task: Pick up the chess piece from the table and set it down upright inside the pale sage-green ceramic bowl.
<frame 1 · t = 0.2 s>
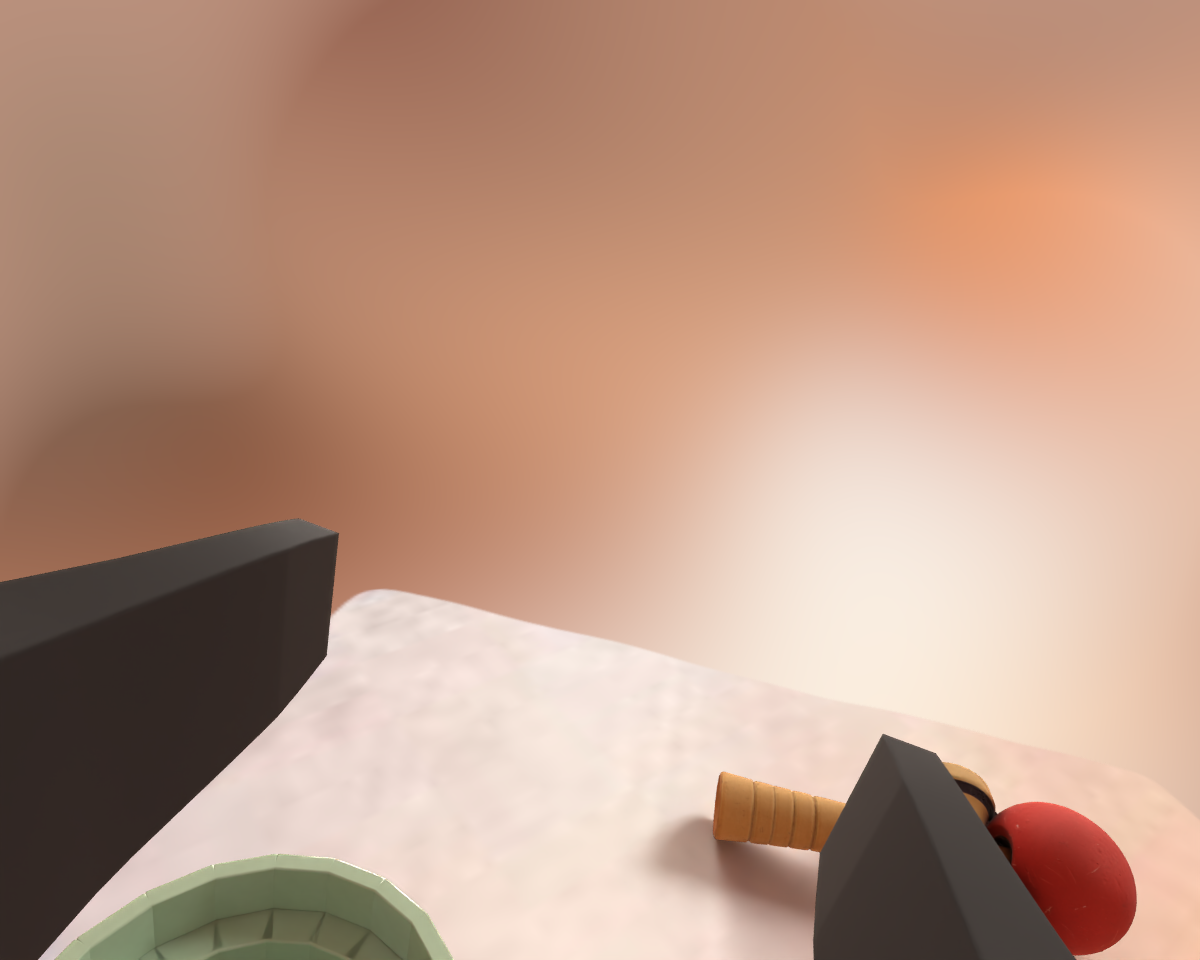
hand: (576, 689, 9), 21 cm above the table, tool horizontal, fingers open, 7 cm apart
kendama: (892, 887, 34), on the table
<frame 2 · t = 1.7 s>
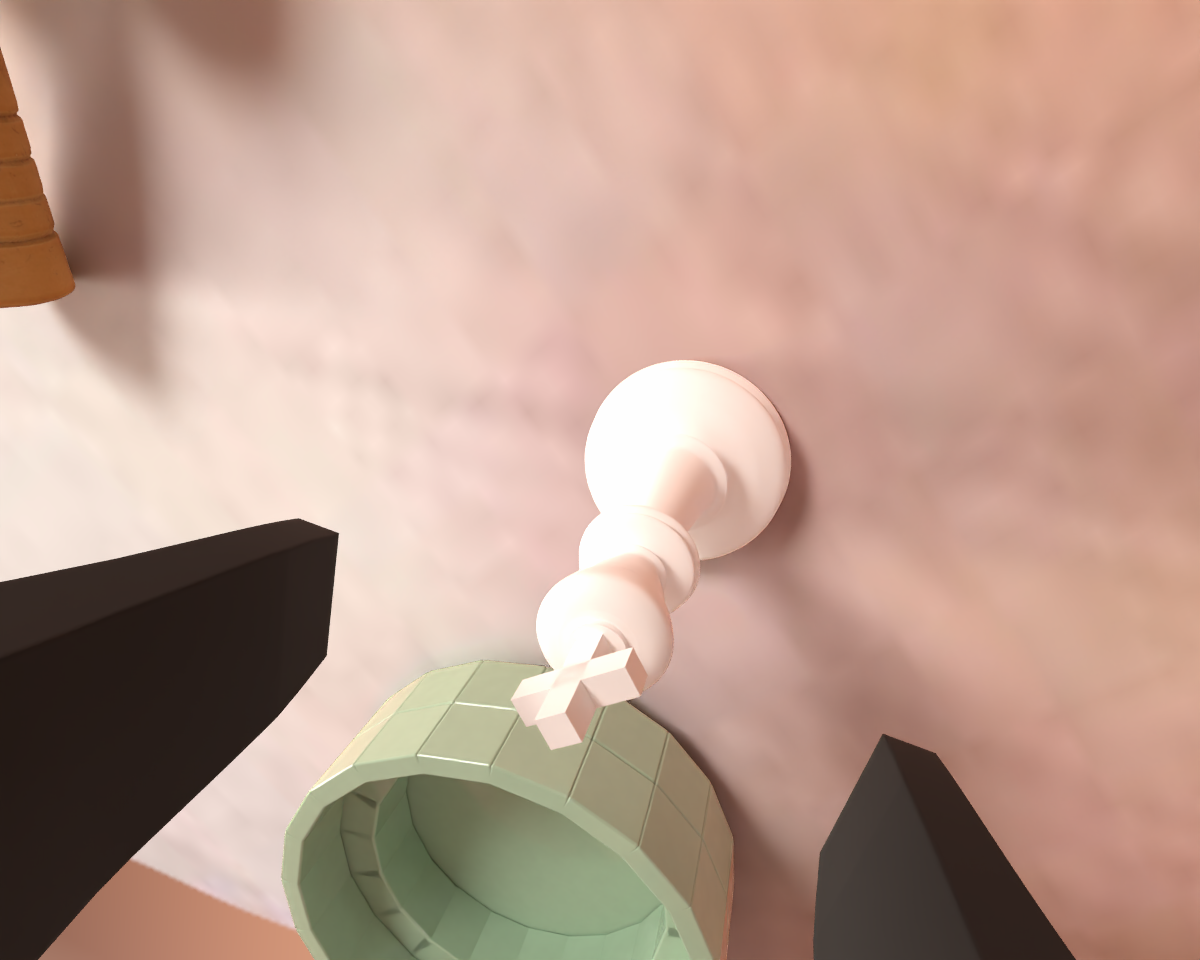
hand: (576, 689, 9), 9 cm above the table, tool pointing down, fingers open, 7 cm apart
bowl: (541, 816, 23), on the table
chess piece: (687, 457, 18), on the table
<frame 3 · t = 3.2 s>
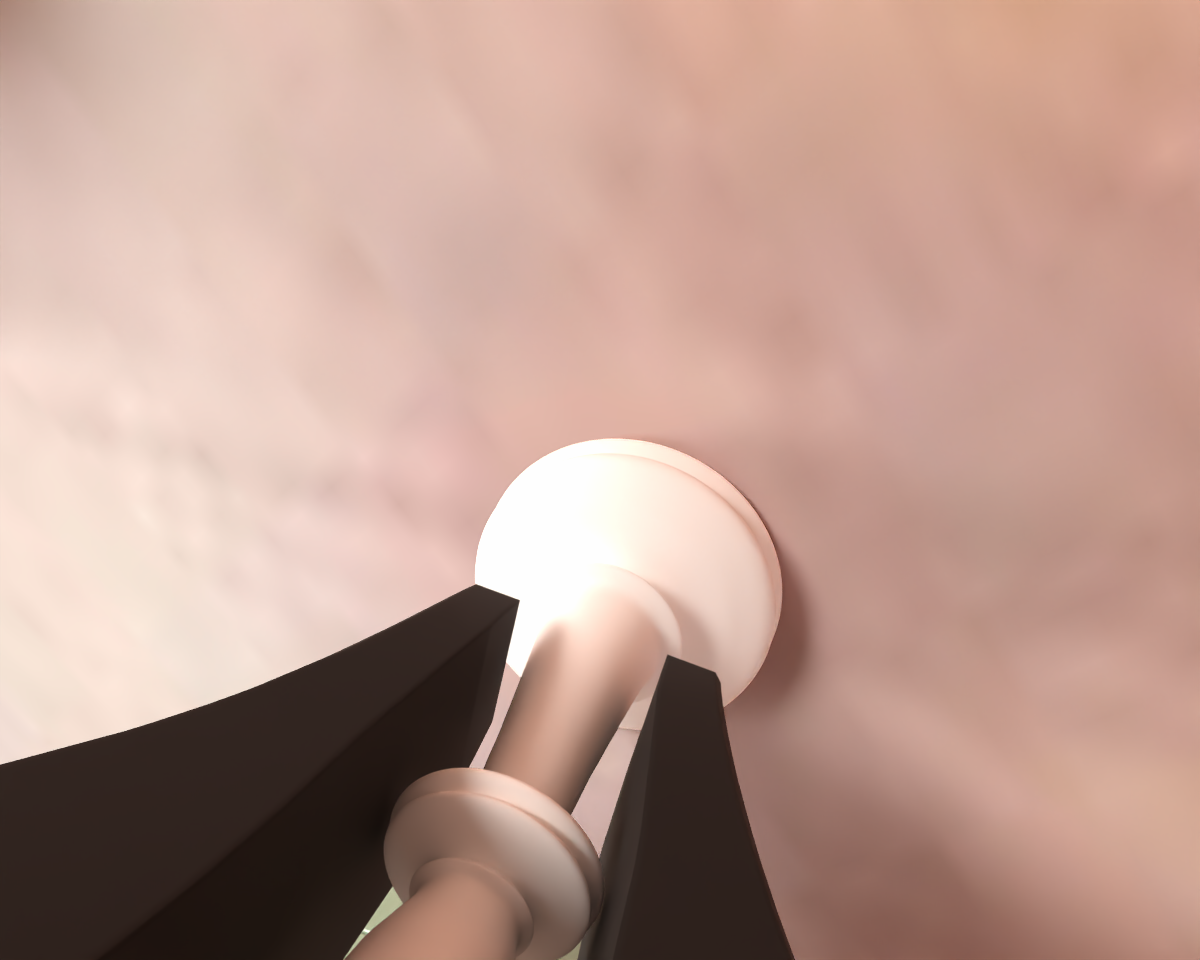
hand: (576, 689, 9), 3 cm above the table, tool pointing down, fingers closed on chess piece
chess piece: (629, 576, 12), on the table, touching gripper
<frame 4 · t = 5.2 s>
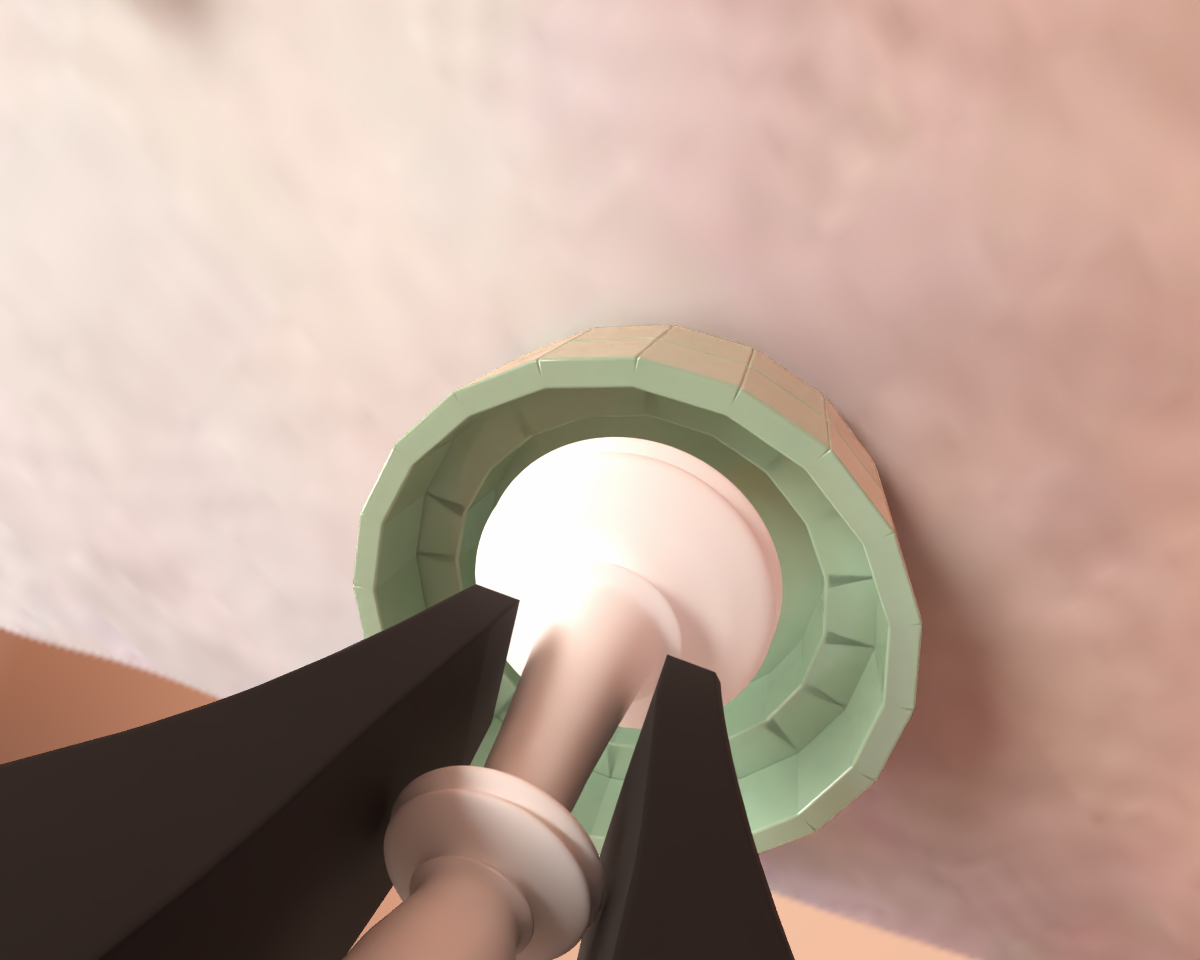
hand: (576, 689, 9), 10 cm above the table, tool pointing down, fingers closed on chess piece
bowl: (650, 551, 19), on the table
chess piece: (629, 574, 12), point 7 cm above the table, touching gripper
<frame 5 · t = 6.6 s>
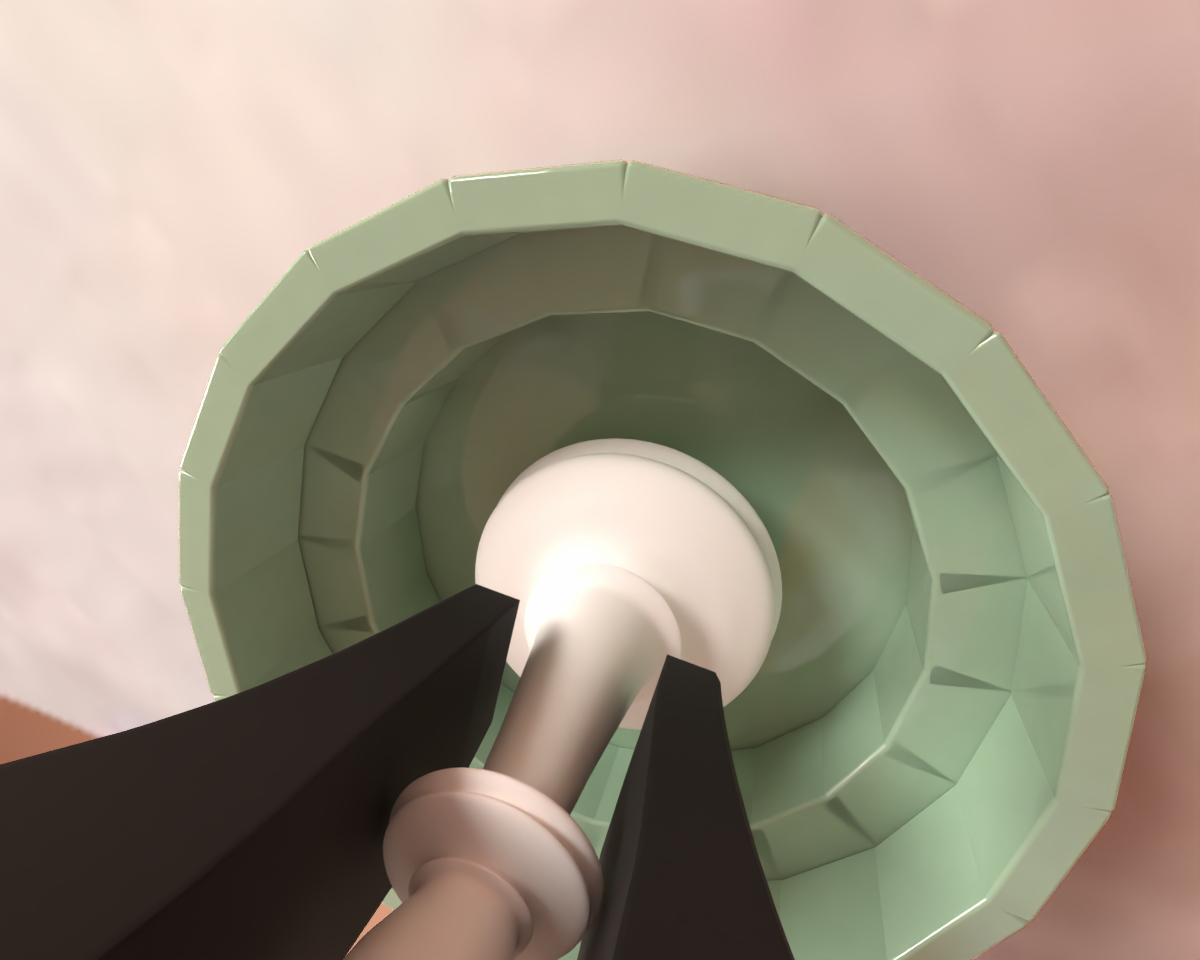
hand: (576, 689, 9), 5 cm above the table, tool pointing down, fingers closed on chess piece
bowl: (648, 538, 13), on the table
chess piece: (629, 576, 12), point 2 cm above the table, touching gripper
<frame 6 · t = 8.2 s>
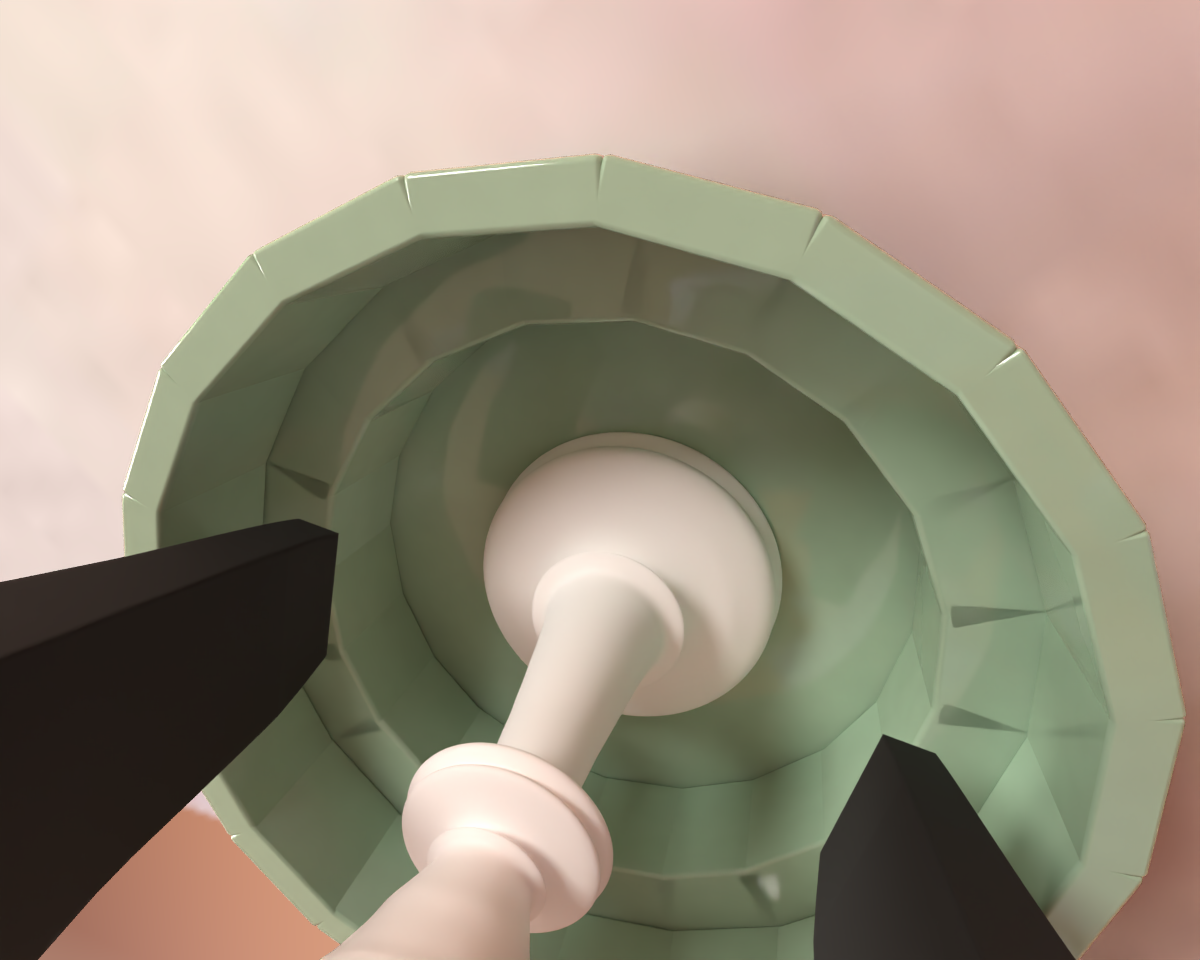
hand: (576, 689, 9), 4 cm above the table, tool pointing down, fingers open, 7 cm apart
bowl: (637, 559, 12), on the table
chess piece: (633, 566, 12), resting on bowl
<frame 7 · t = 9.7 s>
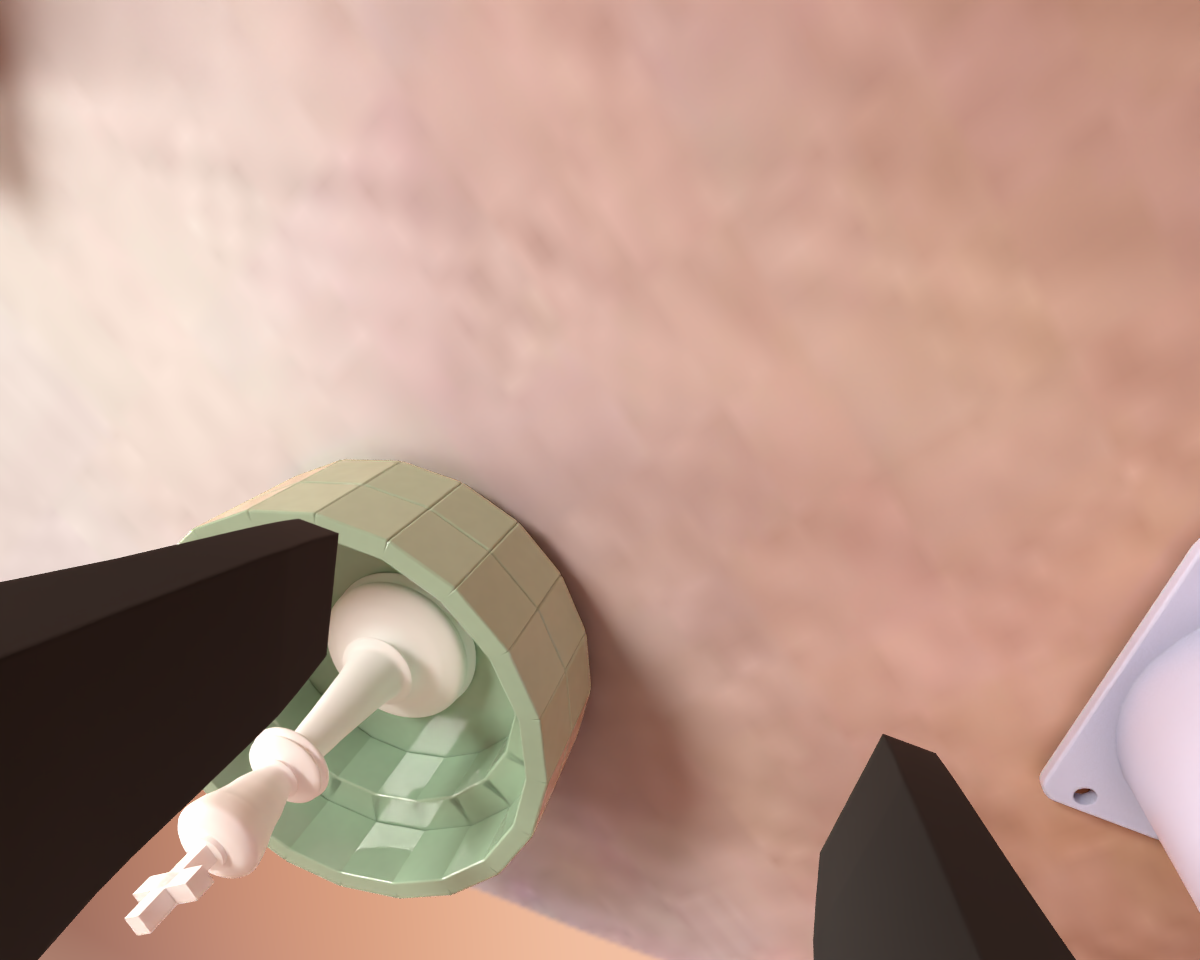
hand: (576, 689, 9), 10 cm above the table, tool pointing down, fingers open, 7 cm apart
bowl: (413, 633, 23), on the table
chess piece: (408, 638, 23), resting on bowl
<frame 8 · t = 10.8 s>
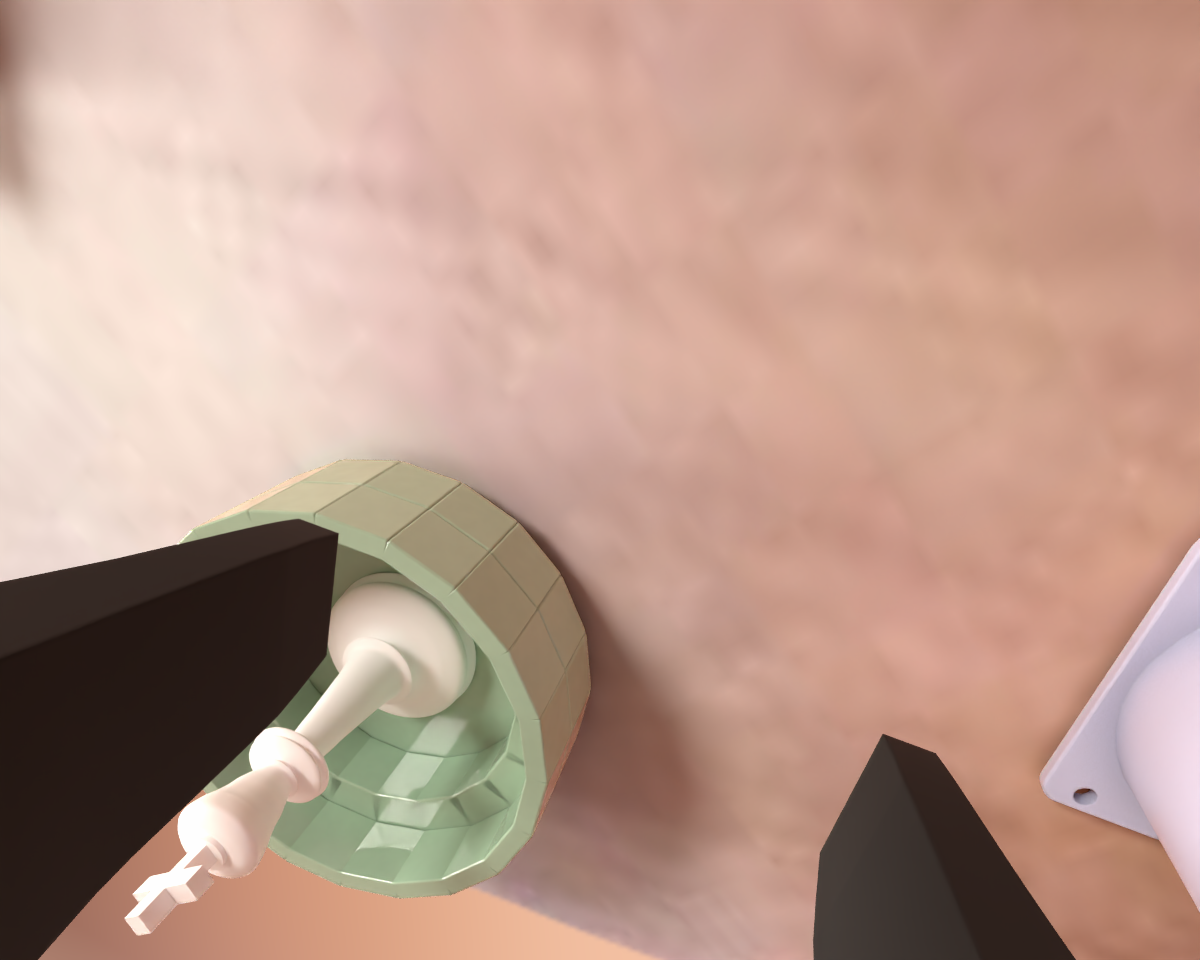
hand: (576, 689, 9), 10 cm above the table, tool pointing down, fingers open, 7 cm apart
bowl: (413, 633, 23), on the table
chess piece: (408, 638, 23), resting on bowl
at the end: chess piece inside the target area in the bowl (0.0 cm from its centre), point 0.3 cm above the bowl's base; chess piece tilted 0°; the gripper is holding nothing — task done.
